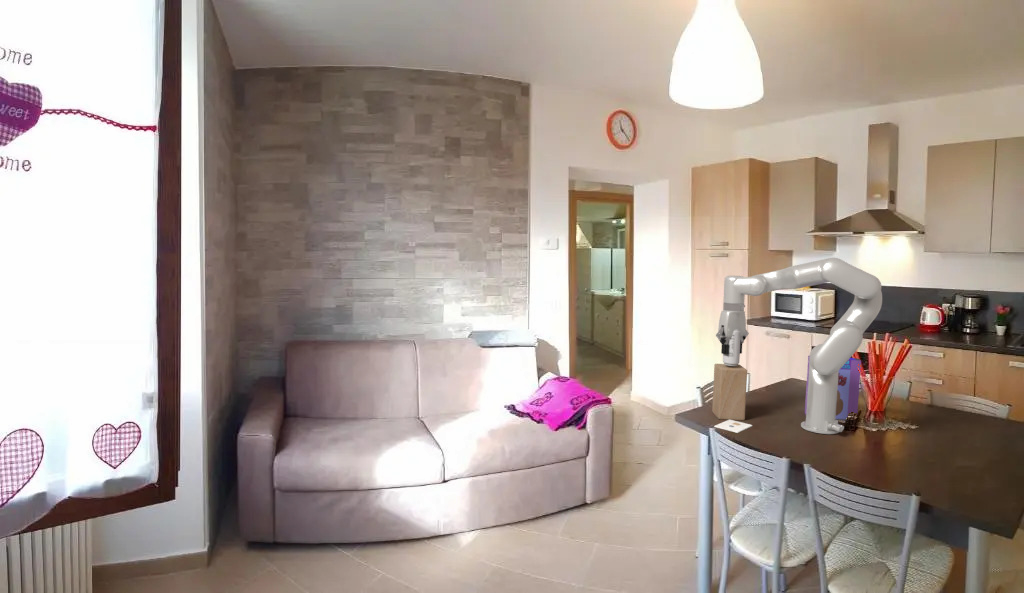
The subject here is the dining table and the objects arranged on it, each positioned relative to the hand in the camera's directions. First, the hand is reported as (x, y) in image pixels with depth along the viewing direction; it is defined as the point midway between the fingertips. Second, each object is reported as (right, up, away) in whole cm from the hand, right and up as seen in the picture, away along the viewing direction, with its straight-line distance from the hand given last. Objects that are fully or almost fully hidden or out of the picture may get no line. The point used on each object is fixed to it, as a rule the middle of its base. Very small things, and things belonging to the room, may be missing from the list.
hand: (731, 353), depth 222 cm
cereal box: (+40, -26, +4) cm, 48 cm away
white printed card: (-3, -26, -9) cm, 28 cm away
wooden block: (0, -25, +3) cm, 26 cm away
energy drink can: (0, -5, 0) cm, 5 cm away
